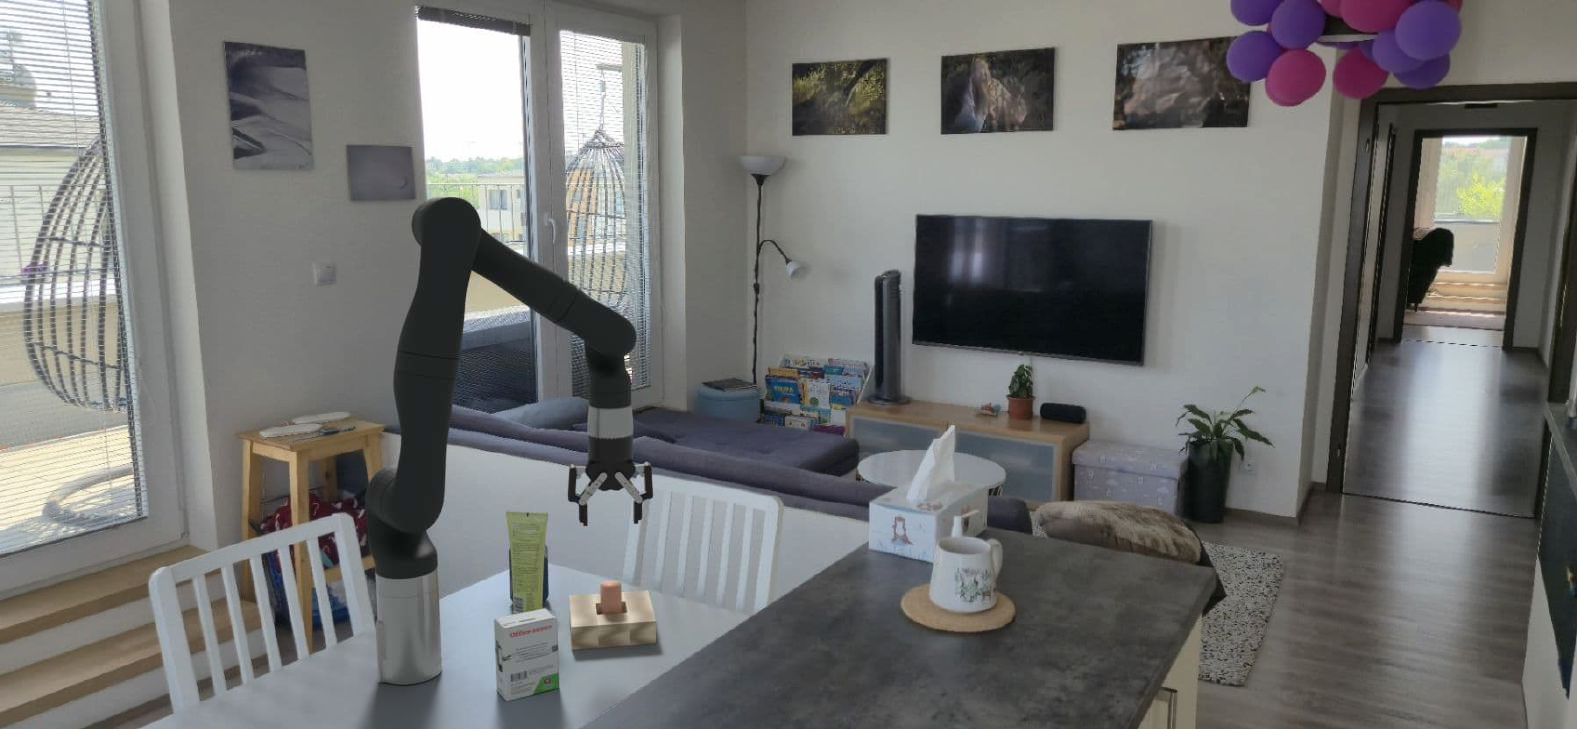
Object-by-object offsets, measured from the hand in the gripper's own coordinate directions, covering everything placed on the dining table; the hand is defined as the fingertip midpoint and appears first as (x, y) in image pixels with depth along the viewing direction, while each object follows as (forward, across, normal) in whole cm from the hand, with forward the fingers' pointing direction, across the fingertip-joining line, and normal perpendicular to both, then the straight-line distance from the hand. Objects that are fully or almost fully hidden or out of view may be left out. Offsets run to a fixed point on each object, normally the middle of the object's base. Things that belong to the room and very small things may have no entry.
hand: (610, 523), depth 190 cm
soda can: (+20, +14, -15) cm, 28 cm away
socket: (+19, 0, 0) cm, 19 cm away
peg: (+19, 0, 0) cm, 19 cm away
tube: (+20, +14, -8) cm, 25 cm away
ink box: (+20, +14, +20) cm, 31 cm away
